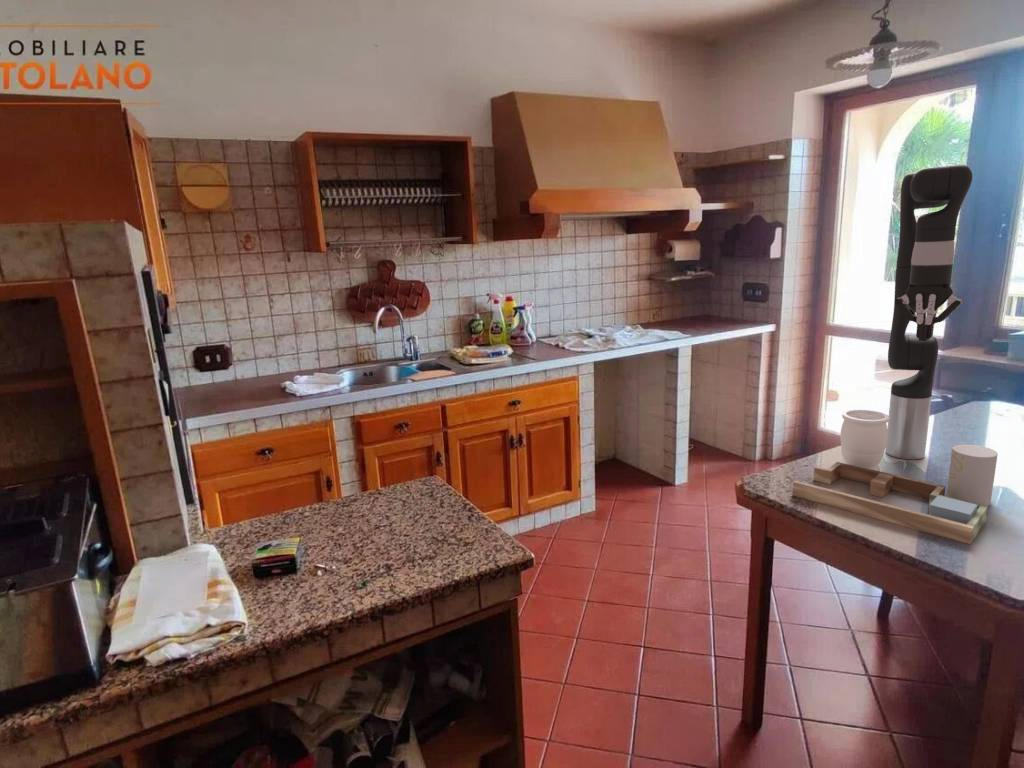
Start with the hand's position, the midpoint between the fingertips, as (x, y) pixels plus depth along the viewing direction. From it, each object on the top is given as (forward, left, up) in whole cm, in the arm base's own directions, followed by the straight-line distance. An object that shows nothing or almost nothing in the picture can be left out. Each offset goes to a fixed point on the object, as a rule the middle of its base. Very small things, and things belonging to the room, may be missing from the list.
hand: (923, 340), depth 133 cm
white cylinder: (-4, +11, -37) cm, 39 cm away
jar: (-8, -13, -37) cm, 40 cm away
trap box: (+9, -1, -37) cm, 38 cm away
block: (+13, +12, -37) cm, 41 cm away
